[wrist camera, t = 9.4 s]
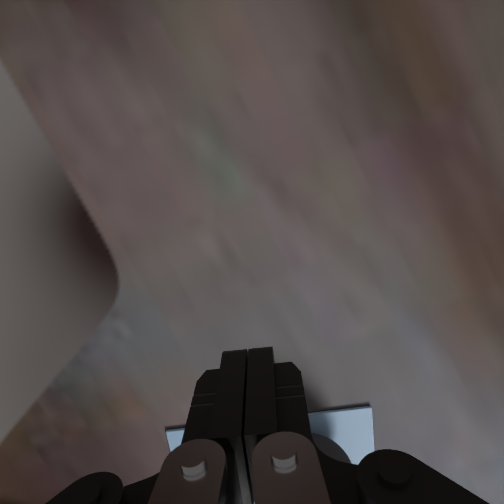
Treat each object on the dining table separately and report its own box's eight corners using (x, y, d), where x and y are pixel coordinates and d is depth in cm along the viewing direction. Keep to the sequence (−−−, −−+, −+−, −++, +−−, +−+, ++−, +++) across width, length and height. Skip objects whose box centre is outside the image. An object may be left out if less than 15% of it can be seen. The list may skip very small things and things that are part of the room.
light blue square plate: (370, 405, 26) (371, 407, 26) (380, 557, 30) (380, 559, 30) (166, 430, 27) (165, 432, 27) (202, 575, 31) (201, 578, 30)
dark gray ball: (352, 434, 28) (315, 406, 24) (386, 522, 23) (346, 502, 20) (288, 466, 29) (245, 443, 26) (308, 555, 25) (260, 541, 21)
